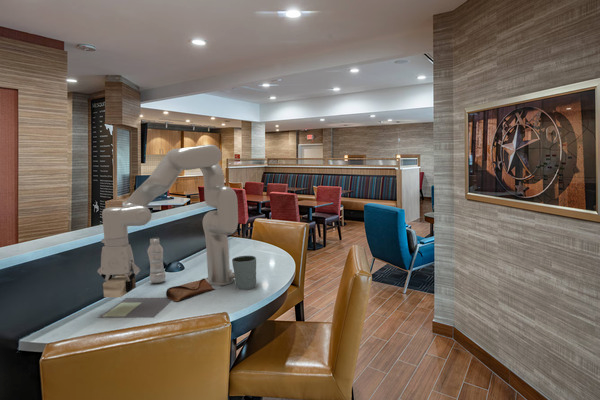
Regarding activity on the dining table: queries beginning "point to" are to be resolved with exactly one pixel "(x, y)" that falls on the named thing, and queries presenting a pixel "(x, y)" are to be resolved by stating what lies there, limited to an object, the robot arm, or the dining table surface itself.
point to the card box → (116, 286)
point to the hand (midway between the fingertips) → (120, 290)
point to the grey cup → (244, 272)
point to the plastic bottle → (156, 261)
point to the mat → (137, 308)
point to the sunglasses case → (188, 290)
